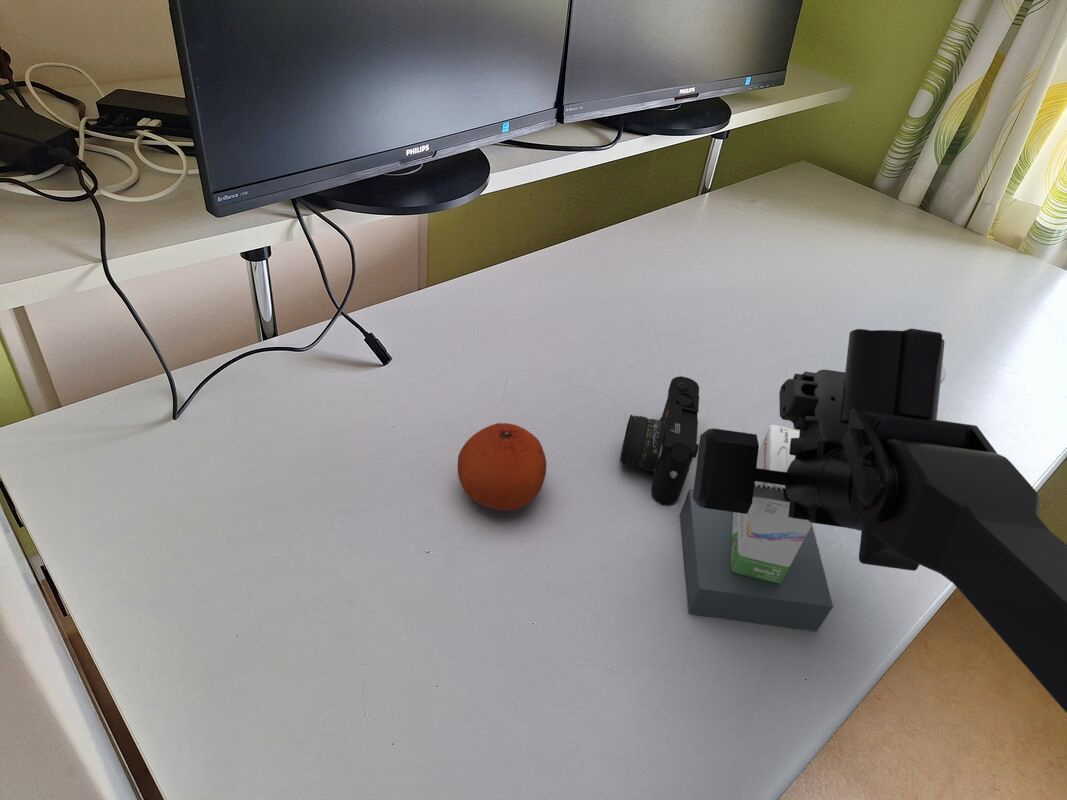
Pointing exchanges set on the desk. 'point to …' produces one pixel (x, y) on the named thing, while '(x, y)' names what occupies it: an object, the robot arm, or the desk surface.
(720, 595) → the grey block
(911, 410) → the robot arm
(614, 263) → the desk surface
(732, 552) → the ink box
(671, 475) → the camera
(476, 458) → the fruit
